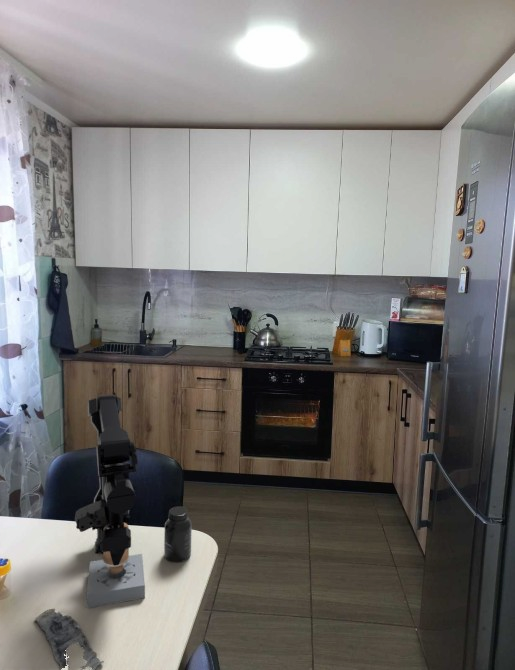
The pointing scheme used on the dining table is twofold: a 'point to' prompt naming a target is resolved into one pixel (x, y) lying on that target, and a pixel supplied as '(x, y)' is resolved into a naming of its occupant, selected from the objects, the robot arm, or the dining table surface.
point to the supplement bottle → (177, 535)
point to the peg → (108, 560)
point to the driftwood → (65, 637)
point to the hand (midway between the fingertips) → (116, 557)
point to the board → (115, 582)
